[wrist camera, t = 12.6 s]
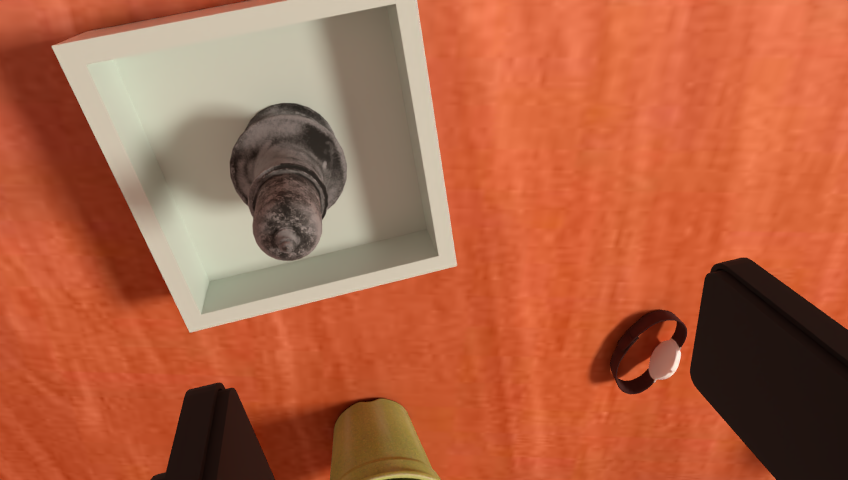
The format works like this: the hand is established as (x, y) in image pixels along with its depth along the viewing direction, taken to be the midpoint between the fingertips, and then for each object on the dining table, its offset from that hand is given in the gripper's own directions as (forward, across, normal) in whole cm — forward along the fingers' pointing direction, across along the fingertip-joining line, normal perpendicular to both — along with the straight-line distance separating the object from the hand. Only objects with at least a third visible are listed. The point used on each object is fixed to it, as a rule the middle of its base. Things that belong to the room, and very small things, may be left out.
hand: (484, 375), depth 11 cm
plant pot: (+24, +4, +27) cm, 36 cm away
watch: (+24, -19, +25) cm, 40 cm away
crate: (+24, +5, +3) cm, 25 cm away
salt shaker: (+23, +5, +3) cm, 24 cm away
